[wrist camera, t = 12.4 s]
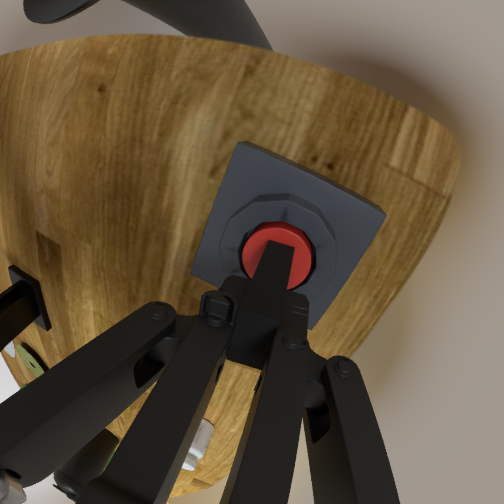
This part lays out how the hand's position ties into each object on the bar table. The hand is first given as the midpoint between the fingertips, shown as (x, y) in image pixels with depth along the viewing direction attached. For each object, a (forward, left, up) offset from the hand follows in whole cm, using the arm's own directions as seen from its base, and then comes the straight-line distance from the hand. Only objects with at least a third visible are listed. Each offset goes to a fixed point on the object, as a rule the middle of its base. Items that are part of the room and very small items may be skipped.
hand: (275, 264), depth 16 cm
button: (0, 0, -2) cm, 2 cm away
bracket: (+26, -30, -5) cm, 40 cm away
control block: (0, 0, -5) cm, 5 cm away
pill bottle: (+31, +2, -5) cm, 31 cm away
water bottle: (+66, -16, -5) cm, 68 cm away
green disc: (+50, -35, -5) cm, 61 cm away
